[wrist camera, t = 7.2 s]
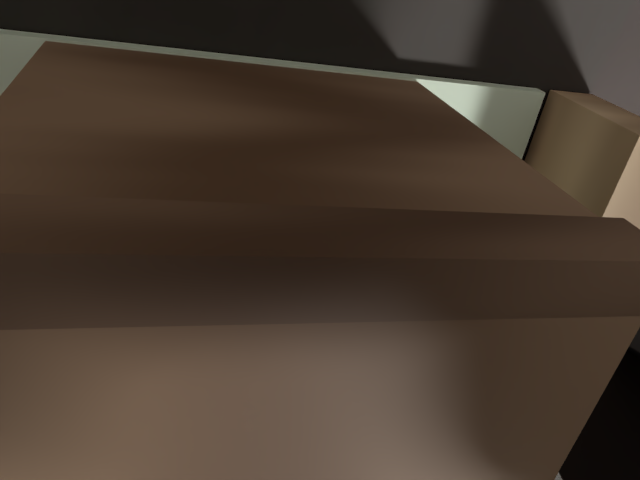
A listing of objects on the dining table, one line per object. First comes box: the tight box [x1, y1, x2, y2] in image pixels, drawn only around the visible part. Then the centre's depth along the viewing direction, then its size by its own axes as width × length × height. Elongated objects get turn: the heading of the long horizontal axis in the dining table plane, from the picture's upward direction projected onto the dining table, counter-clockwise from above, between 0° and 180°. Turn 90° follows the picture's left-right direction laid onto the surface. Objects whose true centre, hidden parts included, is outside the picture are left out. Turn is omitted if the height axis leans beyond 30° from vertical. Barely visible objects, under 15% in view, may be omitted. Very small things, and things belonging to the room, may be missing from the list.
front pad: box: [0, 29, 546, 159], centre depth 11 cm, size 11×6×1 cm, turn 81°
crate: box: [0, 41, 640, 480], centre depth 8 cm, size 6×6×6 cm
